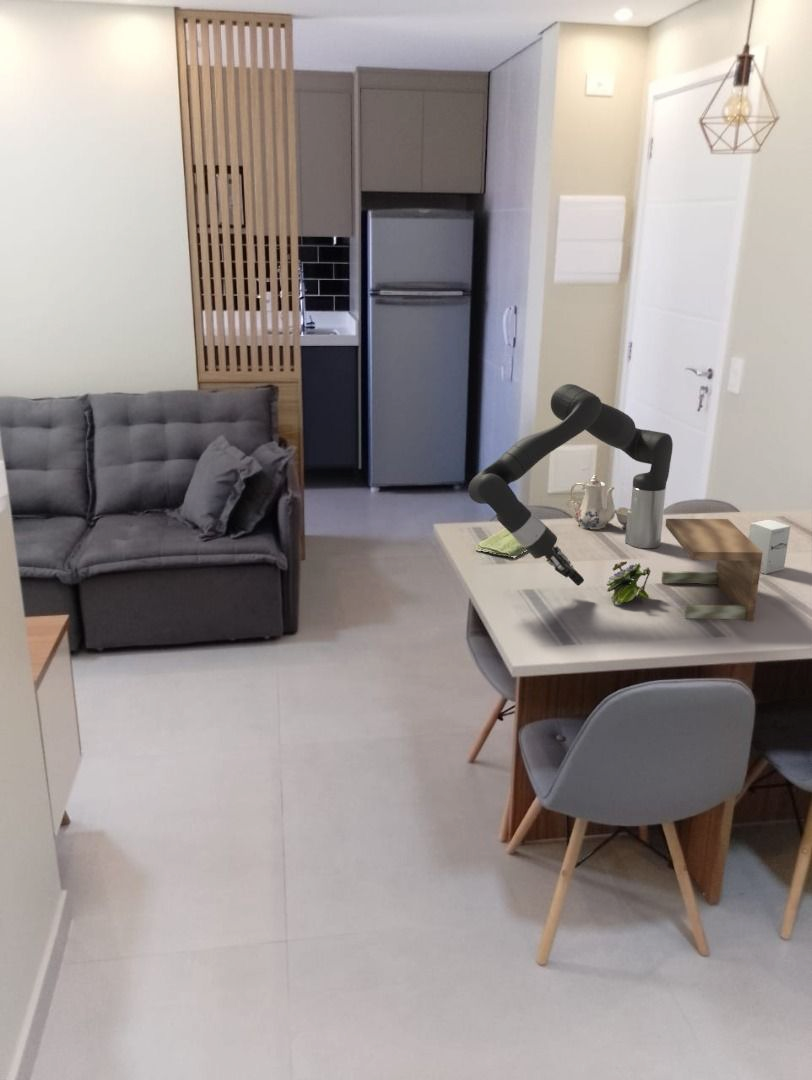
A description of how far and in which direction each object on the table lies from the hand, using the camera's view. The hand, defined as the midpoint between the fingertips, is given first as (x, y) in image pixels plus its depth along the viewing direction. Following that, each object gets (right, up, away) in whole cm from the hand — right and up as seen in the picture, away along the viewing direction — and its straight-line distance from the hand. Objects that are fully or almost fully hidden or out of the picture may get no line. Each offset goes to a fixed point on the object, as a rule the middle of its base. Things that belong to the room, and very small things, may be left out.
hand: (580, 582), depth 218 cm
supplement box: (+54, +3, +21) cm, 58 cm away
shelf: (+31, -4, +1) cm, 31 cm away
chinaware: (+17, +15, +59) cm, 63 cm away
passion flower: (+12, -4, +1) cm, 13 cm away
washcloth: (-14, +8, +38) cm, 41 cm away
